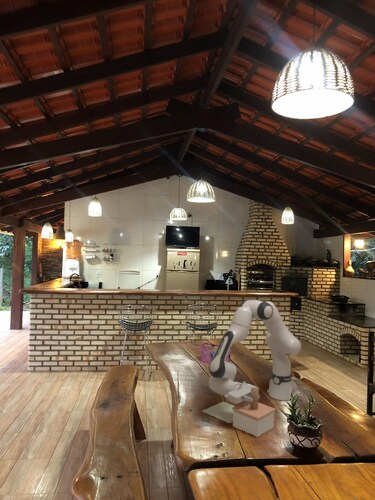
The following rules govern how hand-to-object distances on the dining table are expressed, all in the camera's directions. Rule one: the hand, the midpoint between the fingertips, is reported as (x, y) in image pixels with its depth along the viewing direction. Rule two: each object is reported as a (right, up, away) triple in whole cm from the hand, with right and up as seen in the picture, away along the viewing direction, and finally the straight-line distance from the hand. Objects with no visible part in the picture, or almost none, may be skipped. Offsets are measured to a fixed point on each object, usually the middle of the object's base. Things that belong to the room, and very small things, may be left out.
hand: (255, 398), depth 195 cm
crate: (-1, -15, +1) cm, 15 cm away
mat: (-14, -14, +17) cm, 26 cm away
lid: (-1, -8, +1) cm, 8 cm away
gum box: (-13, -14, +107) cm, 108 cm away
